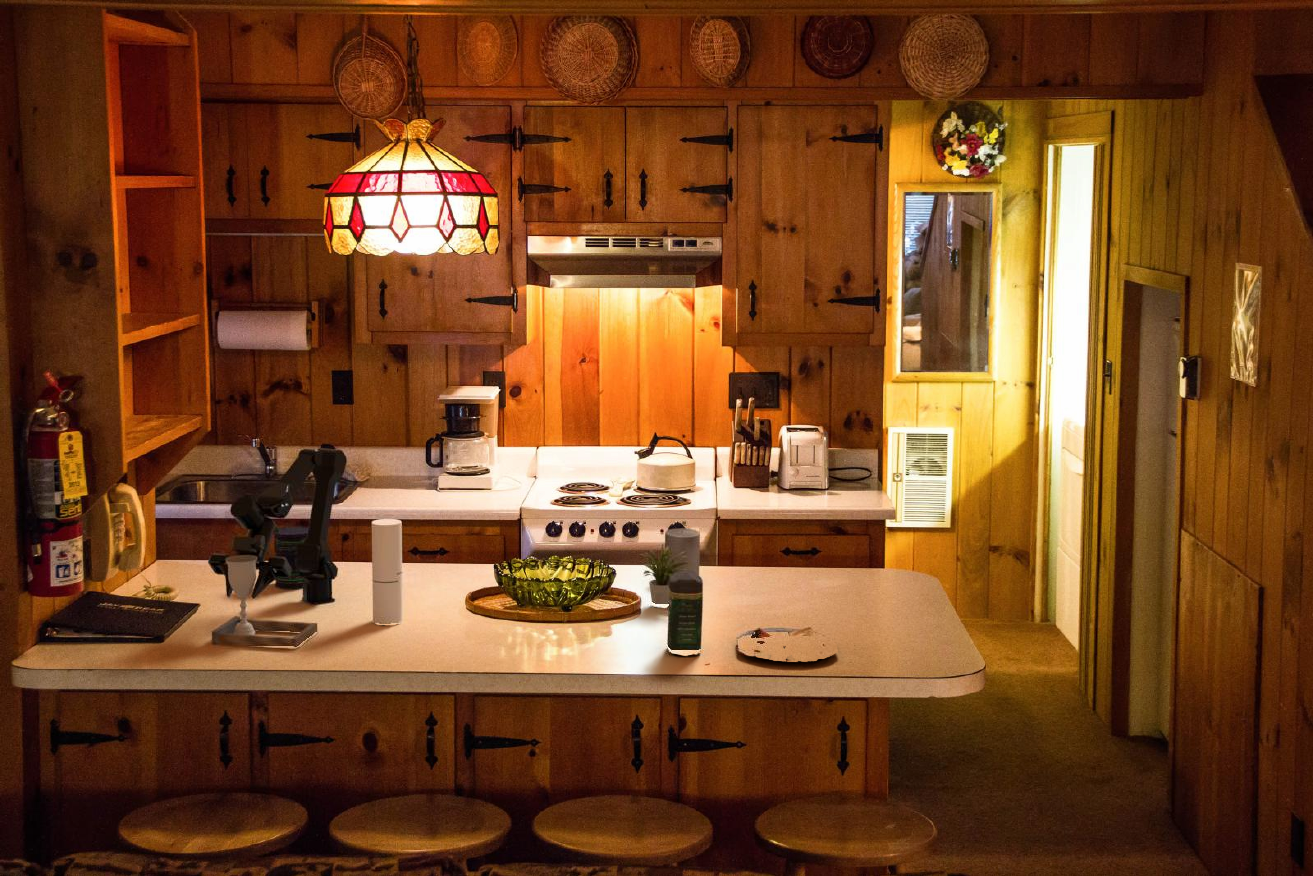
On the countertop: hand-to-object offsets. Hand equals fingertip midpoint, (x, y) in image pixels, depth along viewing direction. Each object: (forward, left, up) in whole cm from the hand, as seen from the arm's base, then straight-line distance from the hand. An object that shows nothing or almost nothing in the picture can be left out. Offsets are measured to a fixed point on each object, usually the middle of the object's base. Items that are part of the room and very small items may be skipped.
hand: (240, 597), depth 340 cm
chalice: (-1, -1, -9) cm, 9 cm away
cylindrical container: (-35, +6, -10) cm, 37 cm away
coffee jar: (-81, +65, -10) cm, 104 cm away
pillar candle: (-120, +14, -10) cm, 121 cm away
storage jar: (-30, -39, -10) cm, 50 cm away
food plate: (-101, +78, -11) cm, 128 cm away
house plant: (-99, +32, -10) cm, 104 cm away
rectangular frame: (-5, +3, -10) cm, 11 cm away
